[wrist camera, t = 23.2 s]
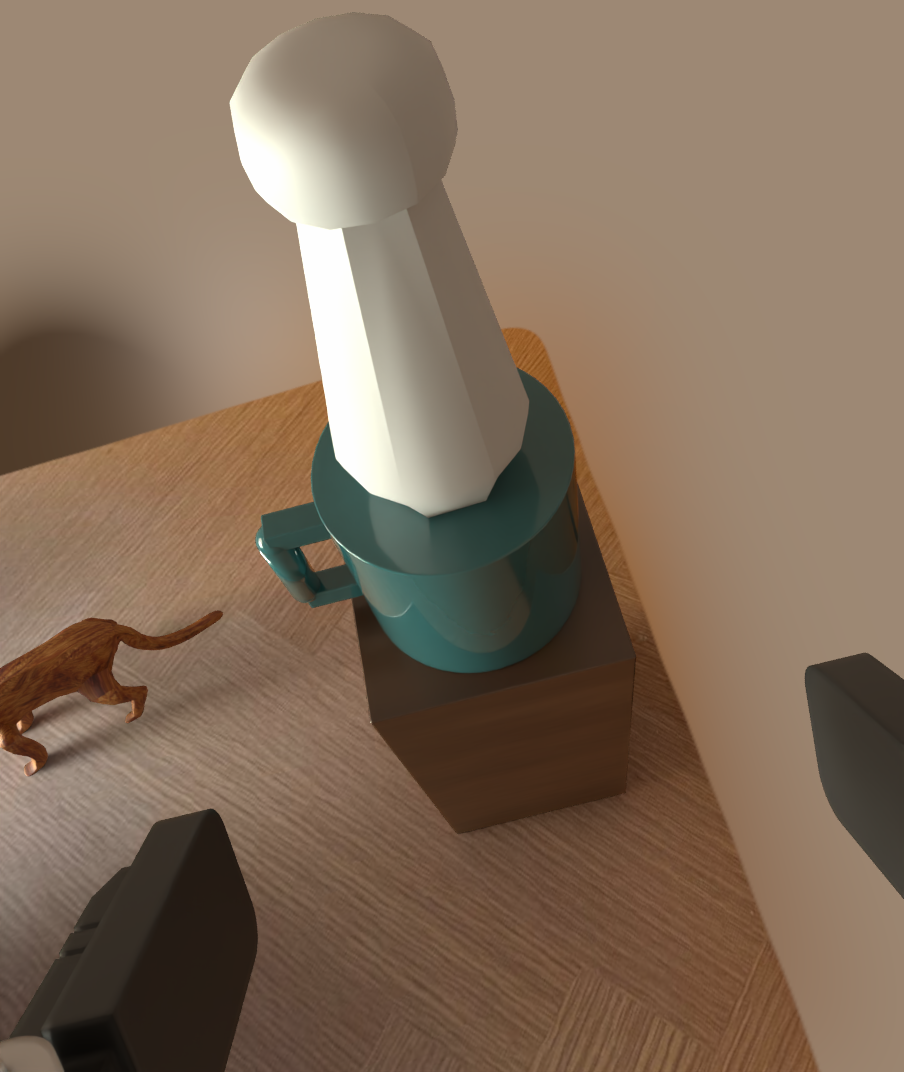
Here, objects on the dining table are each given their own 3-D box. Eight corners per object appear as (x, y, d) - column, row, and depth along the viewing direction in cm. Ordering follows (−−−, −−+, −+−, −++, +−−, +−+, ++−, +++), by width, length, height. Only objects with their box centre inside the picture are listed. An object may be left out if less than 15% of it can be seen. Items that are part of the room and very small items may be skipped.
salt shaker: (346, 549, 26) (147, 183, 15) (354, 399, 29) (192, -3, 17) (541, 531, 25) (489, 130, 14) (529, 379, 28) (477, -55, 17)
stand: (625, 793, 49) (636, 657, 31) (456, 834, 49) (370, 723, 31) (578, 636, 54) (563, 442, 36) (425, 675, 54) (335, 501, 36)
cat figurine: (210, 585, 60) (114, 478, 49) (249, 655, 57) (157, 559, 45) (-24, 731, 57) (-186, 654, 46) (3, 814, 54) (-164, 754, 42)
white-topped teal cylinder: (550, 461, 36) (536, 327, 29) (608, 642, 31) (609, 534, 25) (296, 527, 36) (224, 409, 29) (320, 714, 32) (241, 628, 25)
